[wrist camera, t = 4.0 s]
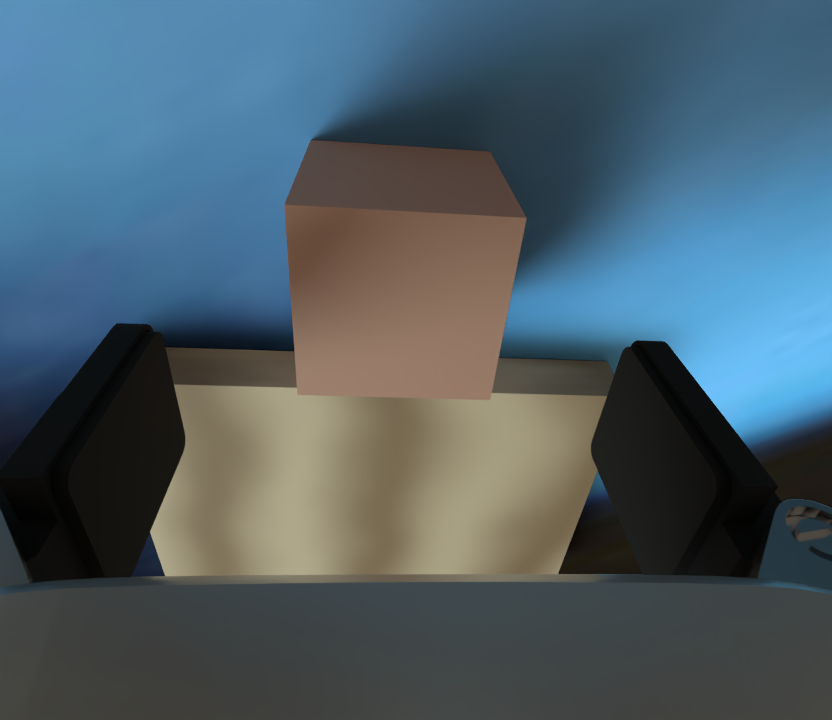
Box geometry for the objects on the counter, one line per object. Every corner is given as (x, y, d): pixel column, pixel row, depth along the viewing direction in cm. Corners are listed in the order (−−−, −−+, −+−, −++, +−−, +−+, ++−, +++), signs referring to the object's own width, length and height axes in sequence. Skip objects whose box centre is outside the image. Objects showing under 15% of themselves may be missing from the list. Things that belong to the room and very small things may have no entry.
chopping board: (185, 555, 26) (172, 595, 24) (123, 345, 19) (98, 382, 17) (539, 556, 27) (549, 594, 25) (606, 361, 20) (626, 396, 18)
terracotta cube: (489, 150, 16) (526, 218, 11) (466, 303, 18) (490, 399, 14) (311, 139, 15) (284, 204, 11) (316, 297, 18) (297, 394, 14)
